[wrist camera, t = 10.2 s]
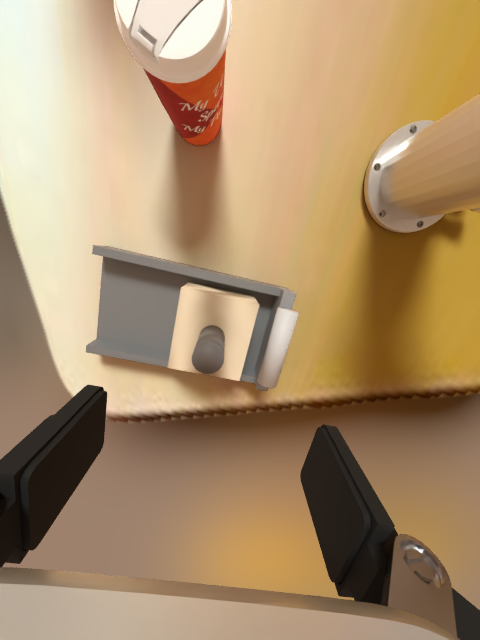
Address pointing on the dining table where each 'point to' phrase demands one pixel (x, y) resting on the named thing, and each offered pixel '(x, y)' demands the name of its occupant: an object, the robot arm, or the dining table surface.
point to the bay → (161, 308)
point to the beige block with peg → (212, 331)
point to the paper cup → (181, 57)
